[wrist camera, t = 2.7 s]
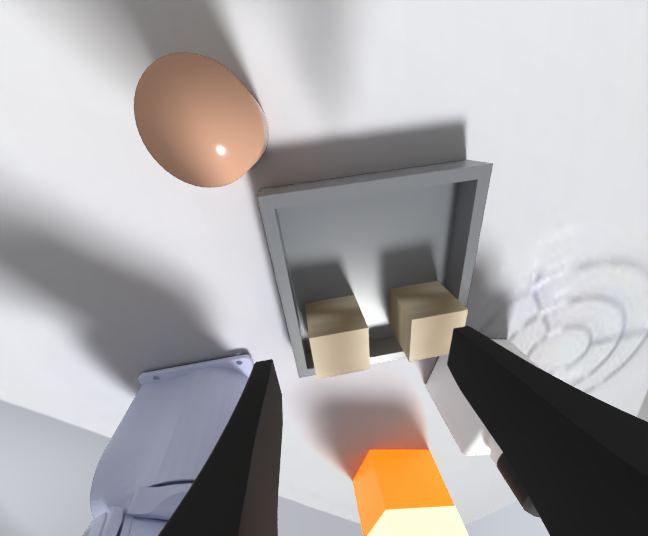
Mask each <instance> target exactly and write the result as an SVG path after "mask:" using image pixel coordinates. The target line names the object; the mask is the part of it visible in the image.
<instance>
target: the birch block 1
mask: <svg viewBox="0 0 648 536" xmlns="http://www.w3.org/2000/svg"><path fill="white" fill-rule="evenodd" d="M305 308H306V316H307V325H308V333H309V341H310V346H311V351H312V357H313V362H314V368H315V373H316V378H317V379H322V378H327V377H332V376H337V375H343V374H348V373H353V372H358V371H364V370H369V369H370V354H369V328H368V326H367V323H366V321H365V319H364V316H363V314H362V312H361V309H360V307H359V305H358V302H357V300H356V298H355V295H351V296H345V297H339V298H333V299H327V300H321V301H316V302H310V303H305Z"/></svg>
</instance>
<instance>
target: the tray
mask: <svg viewBox="0 0 648 536" xmlns="http://www.w3.org/2000/svg"><path fill="white" fill-rule="evenodd" d="M492 166H493V163H486V162H479V161H472V160H462V161H455V162H448V163H441V164H433V165H426V166H419V167H412V168H405V169H398V170H391V171H384V172H376V173H369V174H362V175H355V176H348V177H341V178H334V179H327V180H319V181H312V182H305V183H298V184H291V185H284V186H277V187H270V188H262V189H261V190H260V192H259V194H258V196H257V198H258V203H259V207H260V211H261V215H262V220H263V224H264V228H265V233H266V237H267V241H268V246H269V250H270V254H271V259H272V263H273V267H274V271H275V276H276V280H277V284H278V289H279V293H280V297H281V302H282V306H283V310H284V315H285V319H286V323H287V328H288V332H289V336H290V340H291V345H292V349H293V353H294V358H295V362H296V366H297V371H298V375H299V378H301V377H307V376H312V375H316V373H315V368H314V362H313V357H312V351H311V346H310V341H309V333H308V325H307V316H306V308H305V303H310V302H316V301H321V300H327V299H333V298H339V297H345V296H351V295H355V298H356V300H357V302H358V305H359V307H360V309H361V312H362V314H363V316H364V319H365V321H366V323H367V326H368V328H369V354H370V364H375V363H380V362H386V361H391V360H396V359H401V358H407V357H406V355H405V353H404V351H403V349H402V348H401V346H400V344H399V342H398V340H397V338H396V337H395V335H394V333H393V331H392V329H391V327H390V289H391V288H397V287H403V286H409V285H415V284H421V283H427V282H432V281H439V282H440V283H441V284H442V285H443V286H444V287H445V288H446V289H447V290H448V291H449V292H450V293H451V294H452V295H453V296H454V297H455V298H456V299H457V300H458V301H459V302H461V303H462V304H463V305H464V306H465V307H467V301H468V296H469V291H470V285H471V280H472V274H473V269H474V263H475V258H476V253H477V247H478V242H479V236H480V231H481V226H482V220H483V215H484V209H485V204H486V199H487V193H488V188H489V182H490V177H491V172H492Z"/></svg>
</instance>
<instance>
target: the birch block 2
mask: <svg viewBox="0 0 648 536" xmlns="http://www.w3.org/2000/svg"><path fill="white" fill-rule="evenodd" d="M467 313H468V309H467V308H466V307H465V306H464V305H463V304H462V303H461V302H459V301H458V300H457V299H456V298H455V297H454V296H453V295H452V294H451V293H450V292H449V291H448V290H447V289H446V288H445V287H444V286H443V285H442V284H441V283H440V282H439V281H432V282H427V283H421V284H415V285H409V286H403V287H397V288H391V289H390V327H391V329H392V331H393V333H394V335H395V337H396V338H397V340H398V342H399V344H400V346H401V348H402V349H403V351H404V353H405V355H406V357H407V359H408V360H409V362H411V361H416V360H421V359H426V358H432V357H437V356H442V355H447V354H449V350H450V345H451V340H452V334H453V329H454V328H459V327H465V324H466V318H467Z"/></svg>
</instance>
